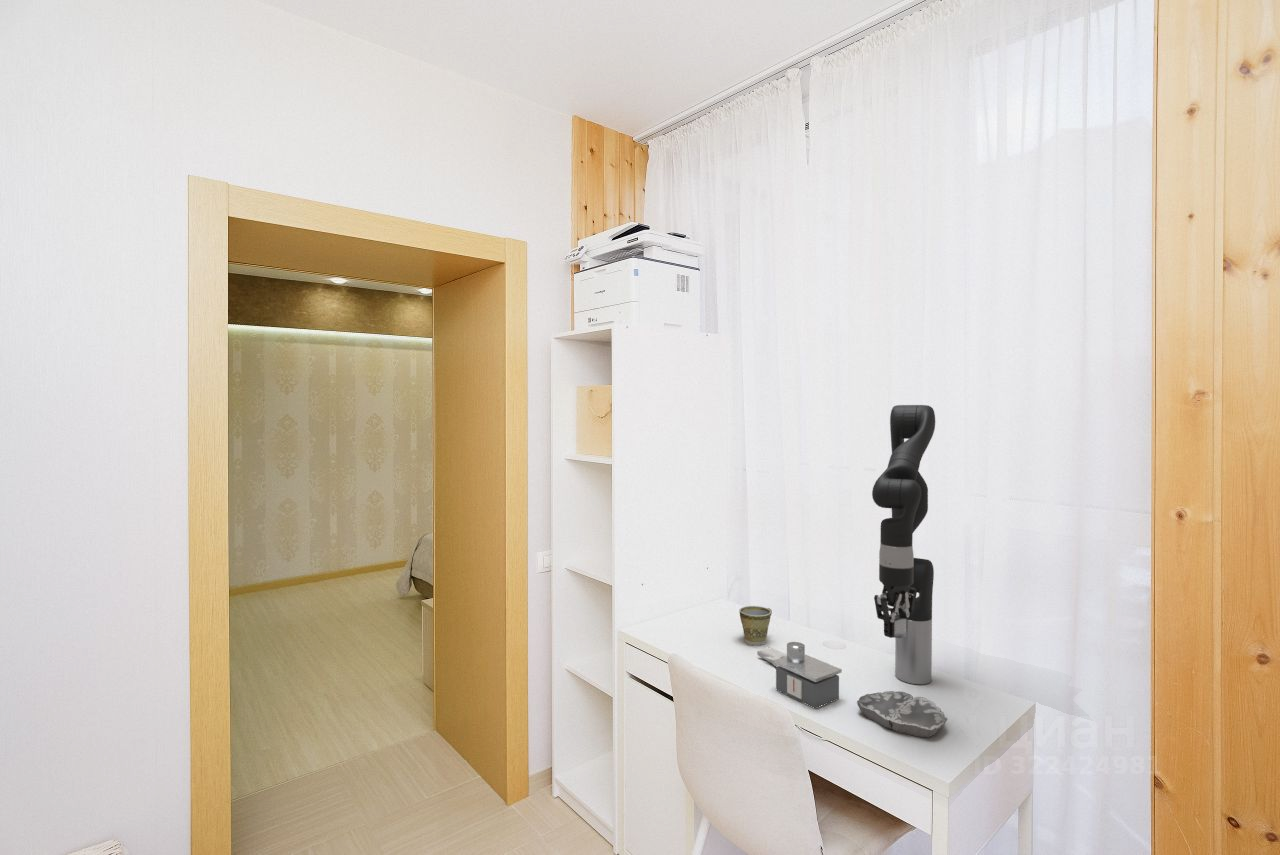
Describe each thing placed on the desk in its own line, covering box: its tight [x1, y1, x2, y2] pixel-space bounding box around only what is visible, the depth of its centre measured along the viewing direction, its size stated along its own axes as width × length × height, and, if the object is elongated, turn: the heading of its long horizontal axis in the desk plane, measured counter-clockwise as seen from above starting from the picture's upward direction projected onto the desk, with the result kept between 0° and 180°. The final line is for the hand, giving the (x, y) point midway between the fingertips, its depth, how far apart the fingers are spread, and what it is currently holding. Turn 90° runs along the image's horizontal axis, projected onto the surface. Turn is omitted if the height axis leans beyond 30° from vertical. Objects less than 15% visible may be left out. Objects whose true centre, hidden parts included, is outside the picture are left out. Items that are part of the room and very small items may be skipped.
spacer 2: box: [889, 614, 906, 639], centre depth 148 cm, size 5×5×4 cm
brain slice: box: [856, 691, 948, 738], centre depth 150 cm, size 20×17×3 cm
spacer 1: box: [786, 641, 806, 663], centre depth 166 cm, size 5×5×4 cm
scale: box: [775, 666, 840, 709], centre depth 163 cm, size 13×10×6 cm
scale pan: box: [774, 654, 843, 682], centre depth 163 cm, size 14×10×1 cm
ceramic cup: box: [738, 605, 773, 646], centre depth 201 cm, size 13×10×10 cm
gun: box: [756, 646, 787, 668], centre depth 180 cm, size 18×3×10 cm
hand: (895, 634), depth 148 cm, fingers closed on spacer 2, 4 cm apart
